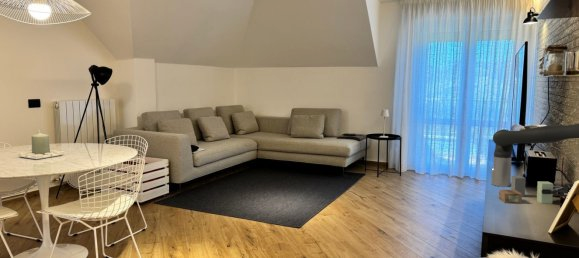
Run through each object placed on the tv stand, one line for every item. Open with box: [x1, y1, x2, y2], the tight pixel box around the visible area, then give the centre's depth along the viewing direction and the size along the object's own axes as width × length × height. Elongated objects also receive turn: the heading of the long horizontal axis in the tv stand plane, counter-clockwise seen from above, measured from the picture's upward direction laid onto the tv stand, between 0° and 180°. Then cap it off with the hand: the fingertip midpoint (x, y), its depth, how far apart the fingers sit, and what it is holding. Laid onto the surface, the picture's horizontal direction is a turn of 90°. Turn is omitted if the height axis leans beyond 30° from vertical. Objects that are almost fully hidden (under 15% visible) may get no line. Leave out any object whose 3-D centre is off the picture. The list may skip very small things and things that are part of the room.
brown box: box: [498, 189, 523, 204], centre depth 203 cm, size 8×8×5 cm
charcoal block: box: [510, 175, 526, 198], centre depth 213 cm, size 5×5×10 cm
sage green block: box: [536, 181, 554, 205], centre depth 200 cm, size 5×5×10 cm
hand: (539, 190), depth 200 cm, fingers open, 5 cm apart
